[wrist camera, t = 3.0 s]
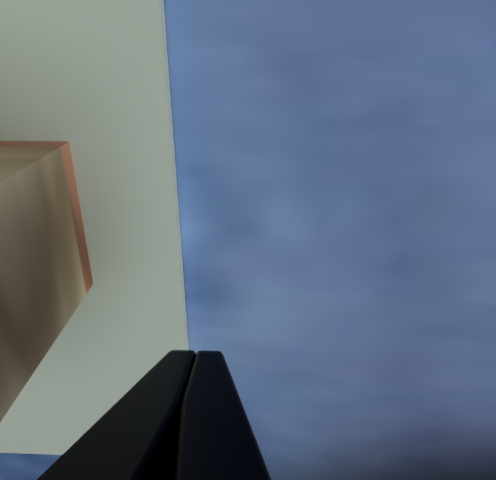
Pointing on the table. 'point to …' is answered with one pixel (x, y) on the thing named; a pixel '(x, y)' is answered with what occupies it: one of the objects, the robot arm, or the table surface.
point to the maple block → (37, 256)
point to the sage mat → (99, 200)
